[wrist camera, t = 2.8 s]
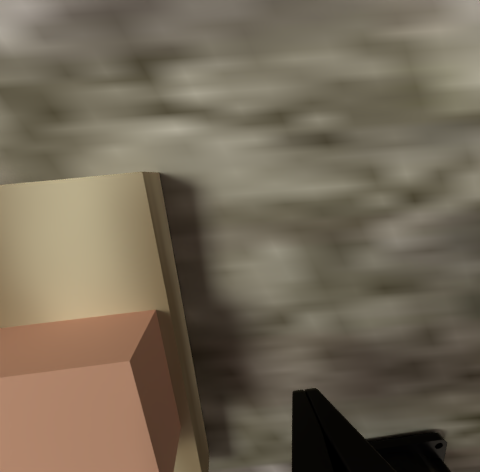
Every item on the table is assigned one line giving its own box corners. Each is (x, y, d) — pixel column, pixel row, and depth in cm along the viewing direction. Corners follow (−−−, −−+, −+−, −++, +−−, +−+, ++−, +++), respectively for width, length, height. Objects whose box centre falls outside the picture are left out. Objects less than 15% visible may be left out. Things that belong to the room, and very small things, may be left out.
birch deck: (159, 172, 9) (142, 171, 7) (209, 453, 13) (206, 499, 12) (-156, 202, 9) (-262, 209, 7) (-3, 484, 13) (-42, 538, 11)
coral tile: (155, 309, 9) (129, 361, 6) (181, 427, 10) (168, 504, 8) (-95, 339, 8) (-226, 406, 6) (-29, 457, 10) (-112, 548, 7)
